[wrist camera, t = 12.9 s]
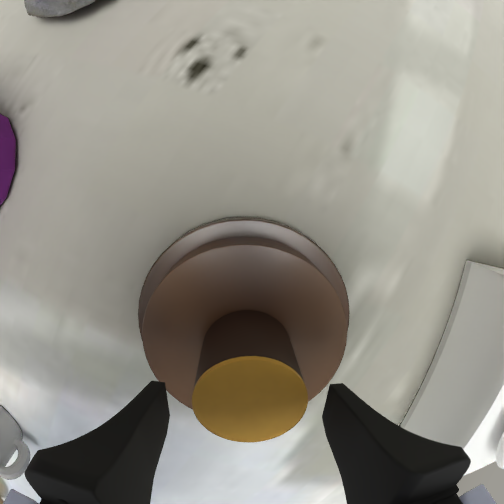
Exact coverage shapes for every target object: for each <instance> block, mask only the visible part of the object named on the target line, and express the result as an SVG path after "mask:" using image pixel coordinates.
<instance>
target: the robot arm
mask: <svg viewBox="0 0 504 504" xmlns="http://www.w3.org/2000/svg"><path fill="white" fill-rule="evenodd" d="M169 417H170V414H169V407H168V401H167V393H166V386H165V382H157V381H151V382H150V383H149V384H148V385H147V386H146V387H145V388H144V389H143V390H142V391H141V392H140V393H139V394H138V395H137V396H136V397H135V398H134V399H133V400H132V401H131V402H130V403H129V404H128V405H126V406H125V407H124V408H123V409H122V410H121V411H120V412H118V413H117V414H116V415H115V416H113V417H112V418H111V419H110V420H108V421H107V422H105V423H104V424H102V425H101V426H99V427H98V428H96V429H94V430H93V431H91V432H89V433H87V434H85V435H83V436H81V437H79V438H77V439H74V440H72V441H69V442H67V443H64V444H61V445H58V446H54V447H50V448H46V449H42V450H38V451H37V452H36V454H35V455H34V457H33V458H32V460H31V462H30V463H29V465H28V467H27V469H26V470H25V472H24V473H25V477H26V479H27V481H28V482H29V484H30V485H31V486H32V488H33V489H34V490H35V491H36V493H37V494H38V495H39V496H40V497H41V502H40V504H150V499H151V492H152V485H153V479H154V475H155V471H156V467H157V464H158V461H159V458H160V454H161V451H162V448H163V445H164V441H165V438H166V435H167V429H168V423H169ZM322 419H323V424H324V428H325V433H326V436H327V439H328V442H329V444H330V447H331V450H332V452H333V455H334V458H335V460H336V463H337V466H338V468H339V471H340V474H341V477H342V481H343V486H344V490H345V495H346V500H347V504H496V502H495V501H494V499H493V498H492V496H491V495H490V494H489V492H488V491H487V489H486V488H485V486H484V485H483V484H481V485H479V486H477V487H475V488H473V489H471V490H470V491H468V492H466V493H464V494H463V495H462V496H460V497H458V495H457V494H456V493H457V492H458V491H459V488H458V487H457V485H456V484H457V483H458V482H459V480H460V479H461V478H462V477H463V475H464V474H465V473H466V471H467V470H468V468H469V466H470V463H471V459H470V458H469V456H468V455H467V454H466V452H465V451H464V450H463V448H462V447H459V446H454V445H449V444H444V443H440V442H436V441H433V440H430V439H427V438H424V437H421V436H419V435H416V434H414V433H412V432H409V431H407V430H405V429H403V428H402V427H400V426H398V425H396V424H394V423H393V422H391V421H389V420H388V419H386V418H385V417H383V416H382V415H381V414H379V413H378V412H376V411H375V410H374V409H372V408H371V407H370V406H369V405H367V404H366V403H365V402H364V401H363V400H361V399H360V398H359V397H358V396H357V395H356V394H354V393H353V392H352V391H351V390H350V389H349V388H348V387H346V386H345V385H344V384H343V383H341V384H330V386H329V390H328V395H327V399H326V403H325V407H324V411H323V415H322ZM3 504H38V503H37V502H36V501H34V500H33V499H31V498H29V497H27V496H25V495H23V494H21V493H19V492H17V491H15V490H14V489H11V490H10V492H9V494H8V496H7V497H6V499H5V501H4V503H3Z"/></svg>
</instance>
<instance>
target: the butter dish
mask: <svg viewBox="0 0 504 504" xmlns="http://www.w3.org/2000/svg"><path fill="white" fill-rule="evenodd" d="M400 427H402V428H403V429H405V430H407V431H409V432H412V433H414V434H416V435H419V436H421V437H424V438H427V439H430V440H433V441H436V442H440V443H444V444H449V445H454V446H459V447H462V448H463V450H464V451H465V452H466V454H467V455H468V456H469V458H470V459H471V463H470V466H469V468H468V470H467V471H466V473H465V474H464V475H467V474H469V473H471V472H474V471H476V470H478V469H480V468H482V467H485V466H486V465H488V464H491V463H493V462H495V461H496V462H497V465H498V467H500V468H502V469H504V269H503V268H499V267H494V266H490V265H486V264H481V263H477V262H473V261H468V260H466V264H465V268H464V272H463V275H462V279H461V282H460V286H459V289H458V293H457V296H456V299H455V302H454V305H453V308H452V311H451V314H450V317H449V320H448V323H447V326H446V328H445V331H444V334H443V336H442V339H441V342H440V344H439V347H438V349H437V351H436V354H435V356H434V359H433V361H432V363H431V366H430V368H429V370H428V372H427V374H426V377H425V379H424V381H423V383H422V385H421V387H420V389H419V391H418V393H417V395H416V397H415V399H414V401H413V403H412V405H411V407H410V409H409V410H408V412H407V414H406V416H405V418H404V420H403V421H402V423H401V425H400ZM464 475H463V476H464Z"/></svg>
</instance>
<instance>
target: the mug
mask: <svg viewBox="0 0 504 504" xmlns="http://www.w3.org/2000/svg"><path fill="white" fill-rule="evenodd" d="M15 146H16V139H15V136H14V134H13V131H12V128H11V125H10V122H9V119H8V118H7V117H5V116H3V115H2V114H0V205H1V204H2V203H3V201H4V200H5V199H6V198H7V194H8V191H9V187H10V184H11V181H12V177H13V174H14V171H15Z"/></svg>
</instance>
